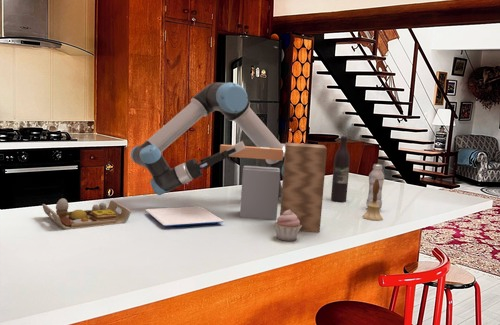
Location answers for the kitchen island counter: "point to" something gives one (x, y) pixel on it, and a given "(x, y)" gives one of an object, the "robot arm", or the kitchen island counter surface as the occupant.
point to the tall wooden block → (304, 183)
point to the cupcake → (287, 226)
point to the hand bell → (373, 205)
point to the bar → (256, 152)
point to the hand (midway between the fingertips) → (243, 144)
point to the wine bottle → (340, 173)
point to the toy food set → (87, 215)
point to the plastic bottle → (373, 176)
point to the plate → (183, 216)
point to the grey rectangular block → (259, 192)
